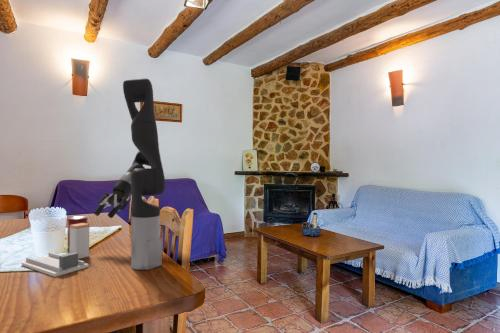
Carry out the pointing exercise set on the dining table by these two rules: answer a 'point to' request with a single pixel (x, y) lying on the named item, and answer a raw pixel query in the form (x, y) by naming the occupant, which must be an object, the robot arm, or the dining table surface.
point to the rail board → (56, 264)
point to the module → (79, 239)
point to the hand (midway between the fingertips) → (102, 215)
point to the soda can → (75, 221)
